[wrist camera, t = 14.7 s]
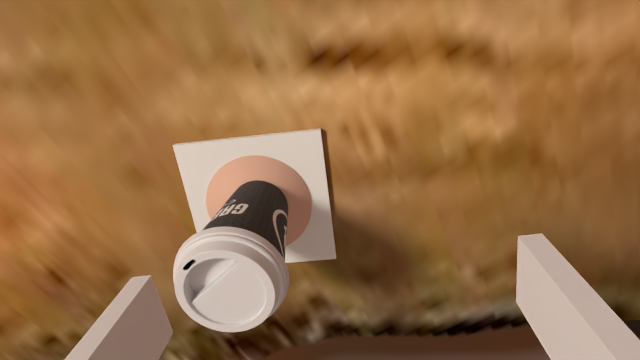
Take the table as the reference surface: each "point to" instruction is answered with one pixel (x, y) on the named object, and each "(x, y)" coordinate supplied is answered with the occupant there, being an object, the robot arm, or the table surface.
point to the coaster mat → (271, 166)
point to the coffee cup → (236, 261)
